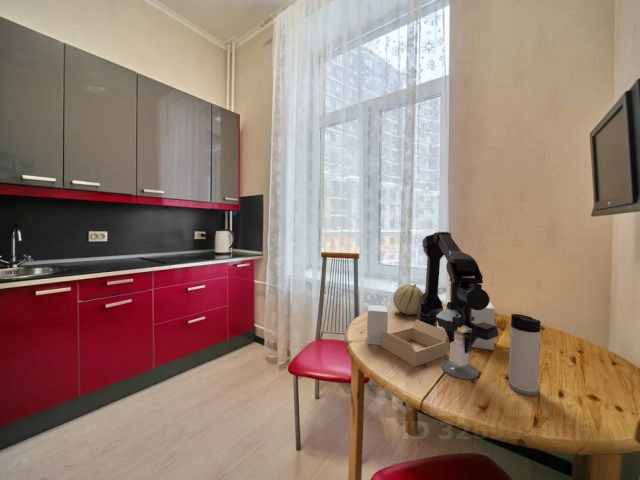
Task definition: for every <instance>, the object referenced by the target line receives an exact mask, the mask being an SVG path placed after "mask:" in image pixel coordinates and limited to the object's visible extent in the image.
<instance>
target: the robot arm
mask: <svg viewBox="0 0 640 480" xmlns="http://www.w3.org/2000/svg"><path fill="white" fill-rule="evenodd" d="M421 244H422V248H423V252H424V254H425V256H426V258H427V259H426V274H425V275H426V276H425V290H424V292H423V295H422V296H421V300H420V303H419V305H418V307H417V314H416V315H417V316H418V317H419V318H420V320H419V321H422V322H424V323H427V324H429V325H432V326H435V327H437V326H438V327H440V328H442V329H443V330H445V331H446V333H447V338H448V340H449V344H450V343H451V342H452V341H454V332H455V331H458V330H459V329H461V328H462V327H463V328H464V327H466V328H467V332H464V331H463V332H464V333H463V335H464V336H465V347H464V349H465V353H466V354H467V353H468V352H469V353H470V350H471V349H472V348H473V347H472V345H473V344H474V342H475V340H476V339H477V338H481V339H483V340H489V339H492V338H494V339H495V338H497V337H498V336H499V330H498V328H497V326H496V325H495V324H494V325H491V324H488V323H484V322H482V323H479V324H475V323H471V321H473V320H474V317H472V309H474V310H482V309H484V308H486V307H487V306H488V304H489V302H490V299H491V298H490V296H489V293H487V291H486V290H484V289H483V285H482V284H483V283H484V280H483V278H484V277H483V274H482V272H481V270H480V267H479V264H478V262H477V261H476V260H475V258H474V257H472V255H470V254H468V253H465V252H463V251H462V250H461V248H460V247H459V246H458V245H457V243H456V241H455V239H453V237H452V233H451V232H449V231H437V232H434V233H433V234H430V235H427V236H425V237H424V238H423V239H422V243H421ZM443 257H445V259H446V261H447V262H446V267H445V268H446V272H447V275H448V276H449V281H450V298H449V300H450V301H448V302H447V304H446V308H445V309H444V306H443V301H442V300H441V299H440V297H439V283H440V282H439V280H440V268H441V267H440V266H441V260H442V258H443ZM473 276H474V277H473ZM438 327H437V328H438ZM458 328H459V329H458Z"/></svg>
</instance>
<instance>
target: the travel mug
mask: <svg viewBox="0 0 640 480" xmlns="http://www.w3.org/2000/svg"><path fill="white" fill-rule="evenodd" d="M510 315H511V317H510V322H511V323H510V332H509V335H510V336H509V359H508V361H509V363H508V364H509V365H508V386H509V388H511V390H512V391H515V392H516V393H517V394H518V393H519V394H521V395H525V396H530V397H531V396H532V397H533V396H537V394H539V375H540V374H539V372H540V352H541V351H540V350H541V320H539V319H535V318H533V317H531V316H528V315H524V314H519V313H511V314H510Z"/></svg>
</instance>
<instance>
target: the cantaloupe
mask: <svg viewBox="0 0 640 480" xmlns="http://www.w3.org/2000/svg"><path fill="white" fill-rule="evenodd" d="M423 294H424V292H423V291H422V289H420V288H419V287H417V283H414V284H408V283H405V284H402V285H400V286H399V287H398V288H397V289H396V290H394V293H393V297H392V299H393V301H392V302H393V305H394V306H395V308H396V309H397V311H399V312H400V313H402V314H405V315H406V316H407V315H408V316H413V315H418V314H417V307H418V305H419V303H420V300H421V296H422V295H423Z"/></svg>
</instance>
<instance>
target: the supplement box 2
mask: <svg viewBox="0 0 640 480" xmlns="http://www.w3.org/2000/svg"><path fill="white" fill-rule="evenodd" d="M495 313H496V309H495V307H494V306H493V304H492V302H490V301H489V304H488V306H487V307H486V308H484V309H482V310H474V309H472V317H474V320H473V321H471V323H475V324H479V323H482V322H484V323H488V324H491V325H494V326H495V319H496V318H495ZM463 332H467V328H466V327H463ZM471 348H476V349H477V348H478V349H483V350H490V351H494V350H495V337H494V338H492V339H489V340H483V339H481V338H477V339H476V340H475V342H474V344H473V345H472V347H471Z"/></svg>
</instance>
